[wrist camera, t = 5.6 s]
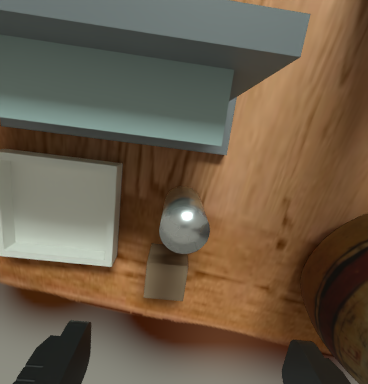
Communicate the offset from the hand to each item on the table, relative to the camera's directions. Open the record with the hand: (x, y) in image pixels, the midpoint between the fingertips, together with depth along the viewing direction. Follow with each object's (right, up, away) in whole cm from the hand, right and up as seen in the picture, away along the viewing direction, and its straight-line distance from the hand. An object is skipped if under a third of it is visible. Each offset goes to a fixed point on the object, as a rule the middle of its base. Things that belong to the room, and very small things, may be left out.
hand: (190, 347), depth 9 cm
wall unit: (-7, +15, +15) cm, 23 cm away
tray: (-15, +5, +18) cm, 24 cm away
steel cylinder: (0, +5, +18) cm, 19 cm away
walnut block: (-2, -3, +20) cm, 21 cm away
